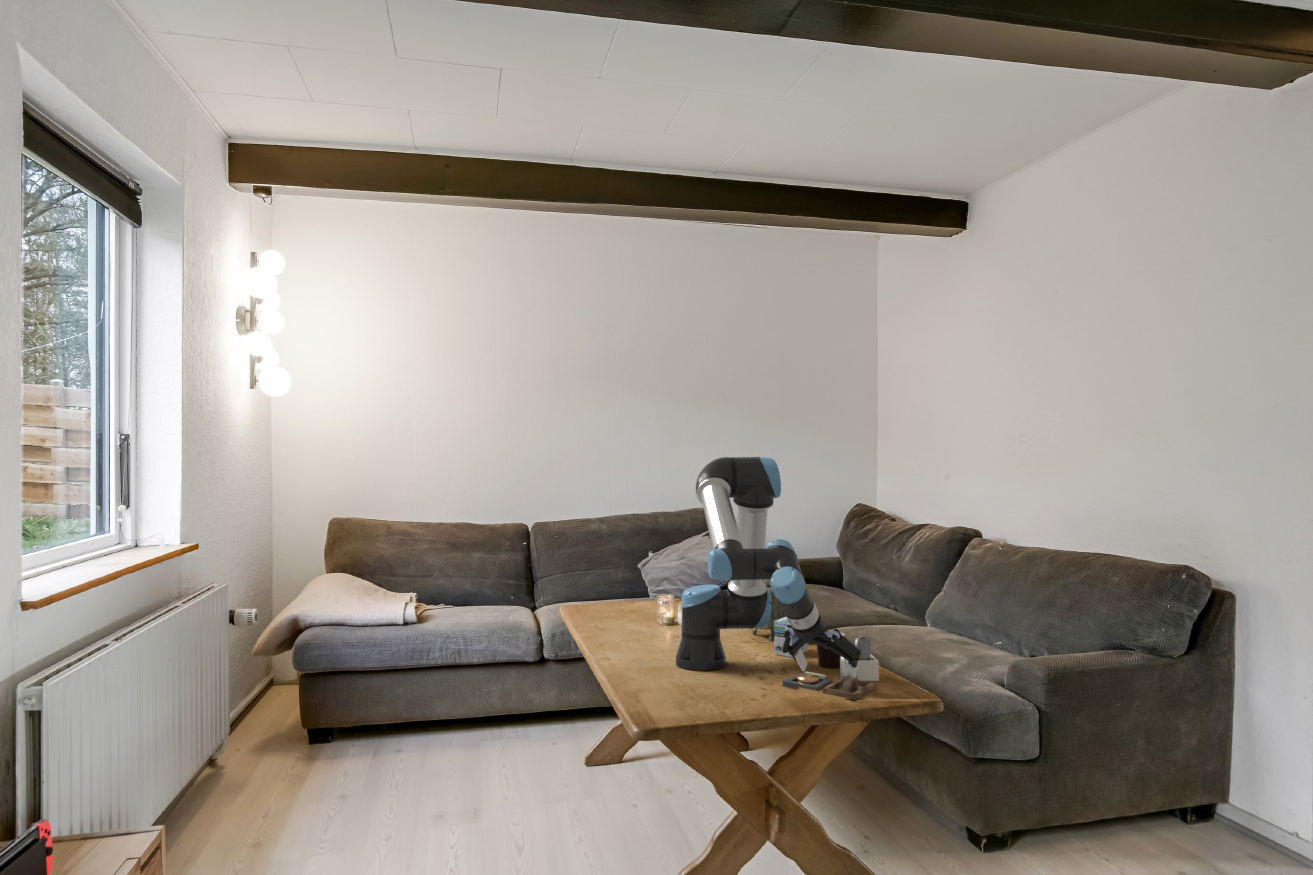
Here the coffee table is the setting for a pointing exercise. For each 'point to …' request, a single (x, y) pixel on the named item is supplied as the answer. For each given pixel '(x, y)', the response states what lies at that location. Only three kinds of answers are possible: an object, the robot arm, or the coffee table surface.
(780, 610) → the tabletop clock
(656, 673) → the coffee table surface
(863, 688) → the brown wooden tray
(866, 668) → the white square box
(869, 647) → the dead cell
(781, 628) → the light bulb box
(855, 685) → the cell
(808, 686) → the base
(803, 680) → the brown flat disc
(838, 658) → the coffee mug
